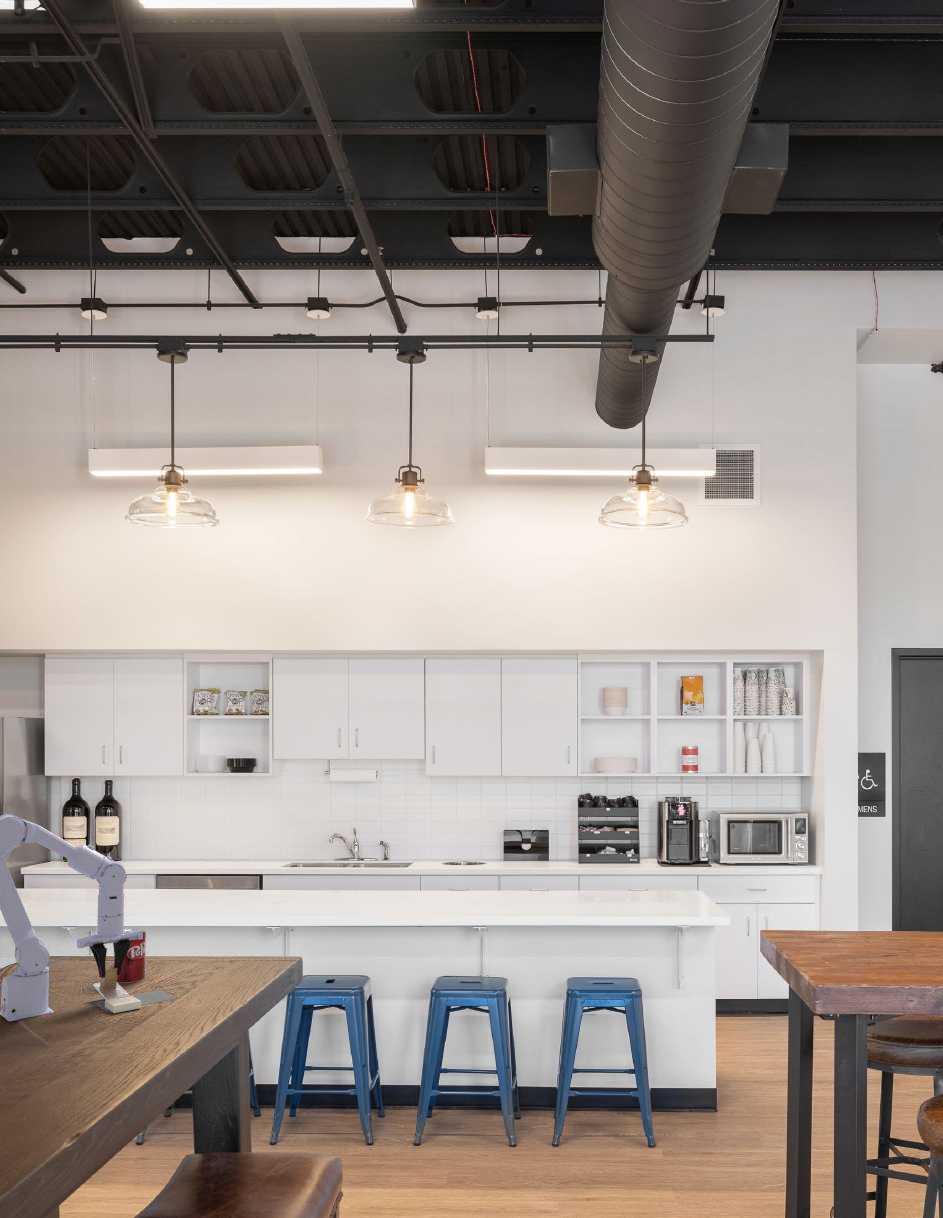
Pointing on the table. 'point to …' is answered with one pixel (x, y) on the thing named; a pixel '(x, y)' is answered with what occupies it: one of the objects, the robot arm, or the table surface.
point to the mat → (144, 998)
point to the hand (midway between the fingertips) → (109, 975)
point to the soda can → (134, 961)
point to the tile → (122, 1004)
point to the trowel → (110, 984)
